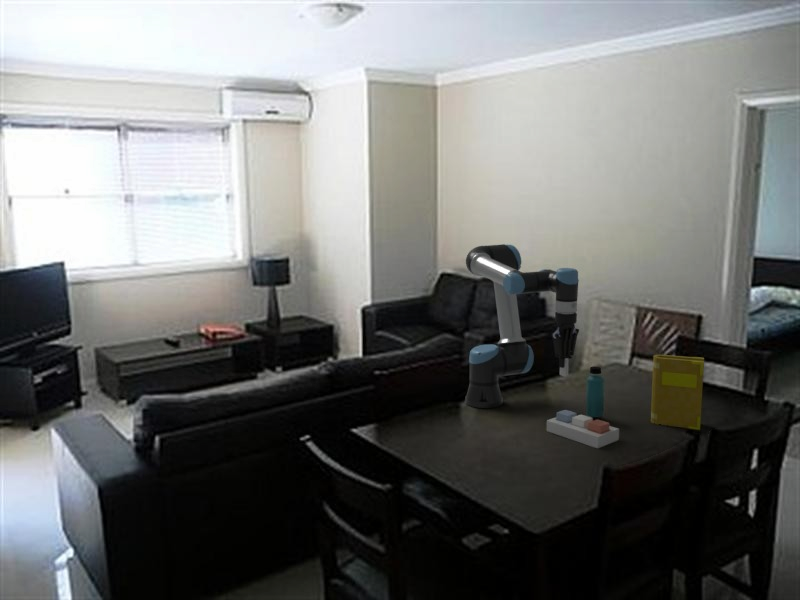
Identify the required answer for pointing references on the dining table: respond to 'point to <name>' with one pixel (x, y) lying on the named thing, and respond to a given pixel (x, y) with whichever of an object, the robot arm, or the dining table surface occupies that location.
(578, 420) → the white key
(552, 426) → the key panel
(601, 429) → the red key
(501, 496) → the dining table surface
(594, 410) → the beverage bottle
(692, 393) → the book
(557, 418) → the blue key
